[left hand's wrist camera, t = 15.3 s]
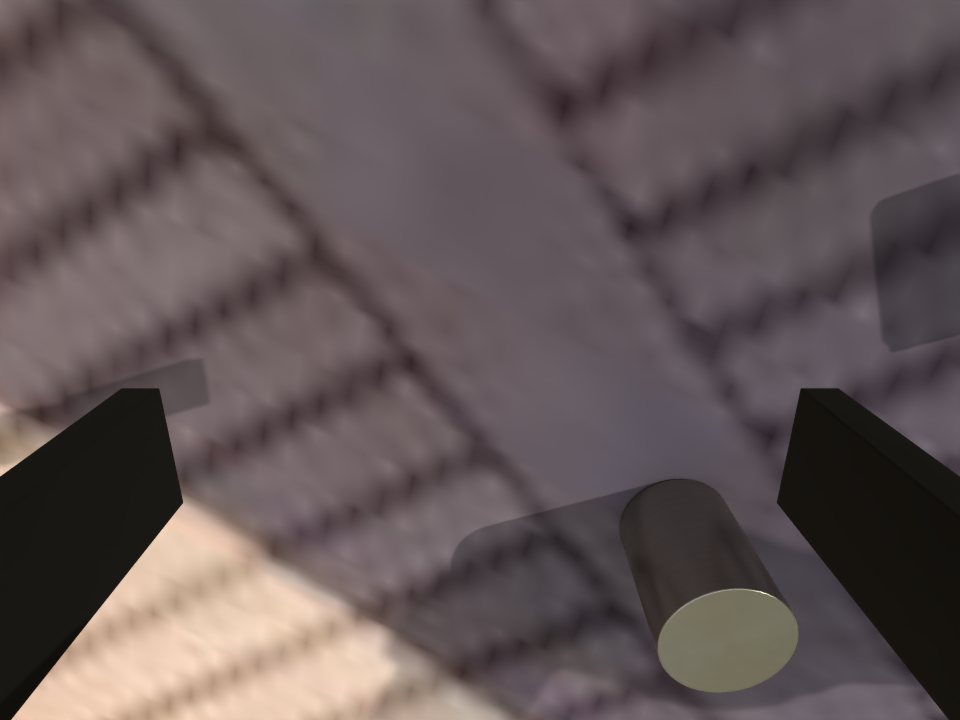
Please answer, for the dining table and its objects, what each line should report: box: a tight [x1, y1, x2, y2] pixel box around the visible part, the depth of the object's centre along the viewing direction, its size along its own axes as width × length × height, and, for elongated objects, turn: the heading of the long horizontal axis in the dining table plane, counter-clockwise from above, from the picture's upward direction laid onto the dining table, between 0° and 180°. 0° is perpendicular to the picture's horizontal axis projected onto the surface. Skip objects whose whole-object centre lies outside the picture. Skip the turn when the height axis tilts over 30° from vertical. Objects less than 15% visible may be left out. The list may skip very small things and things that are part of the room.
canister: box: [620, 479, 799, 693], centre depth 33 cm, size 7×7×9 cm
